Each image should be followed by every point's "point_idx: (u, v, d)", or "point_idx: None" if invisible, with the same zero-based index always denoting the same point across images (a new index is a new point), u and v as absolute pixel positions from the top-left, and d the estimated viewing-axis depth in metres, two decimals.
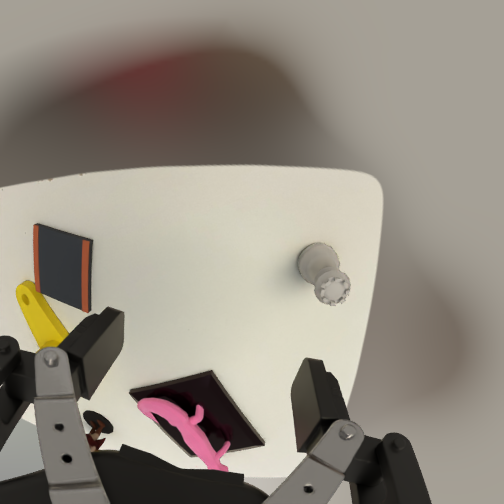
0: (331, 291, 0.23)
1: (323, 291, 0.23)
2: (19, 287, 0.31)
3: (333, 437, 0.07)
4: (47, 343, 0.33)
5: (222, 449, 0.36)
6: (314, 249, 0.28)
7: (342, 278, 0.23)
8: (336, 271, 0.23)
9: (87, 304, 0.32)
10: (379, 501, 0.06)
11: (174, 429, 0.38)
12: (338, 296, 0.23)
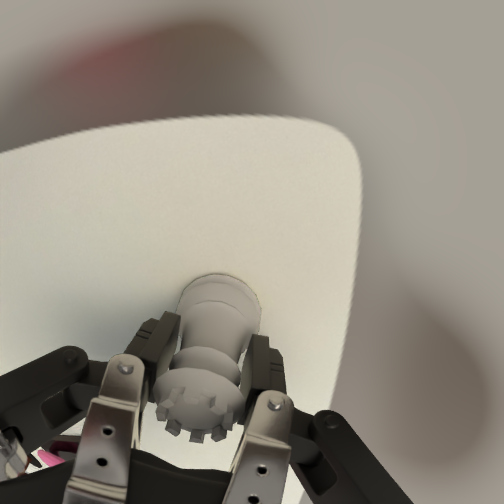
0: (186, 415, 0.08)
1: (161, 416, 0.08)
2: None
3: (263, 411, 0.08)
4: None
5: None
6: (198, 290, 0.13)
7: (211, 392, 0.08)
8: (196, 372, 0.08)
9: None
10: (330, 478, 0.07)
11: None
12: (207, 426, 0.08)
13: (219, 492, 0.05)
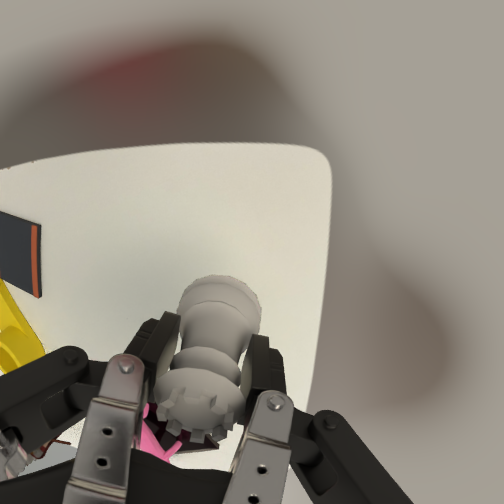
0: (187, 415, 0.08)
1: (162, 416, 0.08)
2: None
3: (263, 411, 0.08)
4: (6, 328, 0.30)
5: (171, 449, 0.33)
6: (198, 290, 0.13)
7: (212, 392, 0.08)
8: (197, 372, 0.08)
9: (37, 289, 0.29)
10: (330, 478, 0.07)
11: None
12: (208, 426, 0.08)
13: (219, 492, 0.05)
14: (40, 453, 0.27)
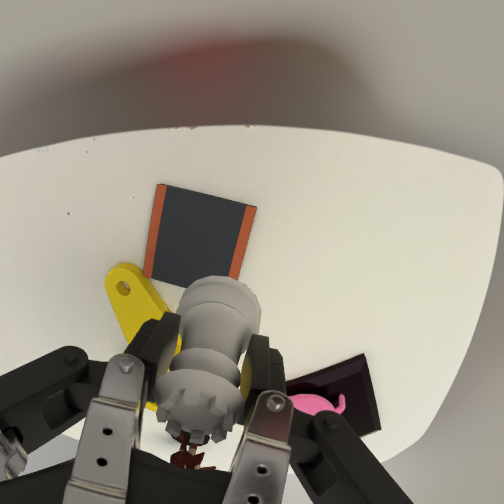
0: (187, 416, 0.08)
1: (161, 417, 0.08)
2: (114, 272, 0.28)
3: (263, 411, 0.08)
4: None
5: None
6: (198, 291, 0.13)
7: (211, 393, 0.08)
8: (196, 373, 0.08)
9: None
10: (330, 478, 0.07)
11: None
12: (207, 427, 0.08)
13: (219, 492, 0.05)
14: None
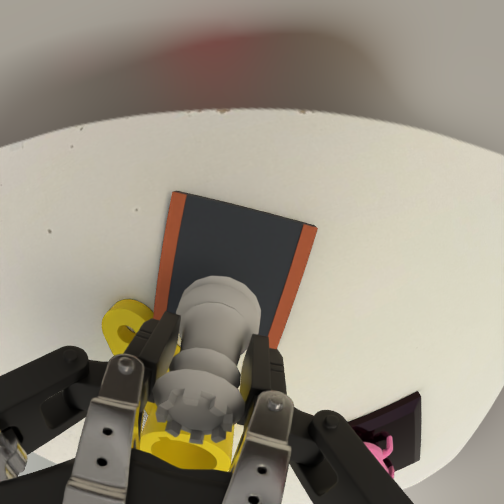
0: (186, 417, 0.08)
1: (161, 417, 0.08)
2: (114, 313, 0.20)
3: (263, 411, 0.08)
4: None
5: (392, 476, 0.25)
6: (198, 291, 0.13)
7: (211, 394, 0.08)
8: (196, 373, 0.08)
9: (279, 336, 0.21)
10: (330, 479, 0.07)
11: None
12: (207, 427, 0.08)
13: (219, 492, 0.05)
14: None
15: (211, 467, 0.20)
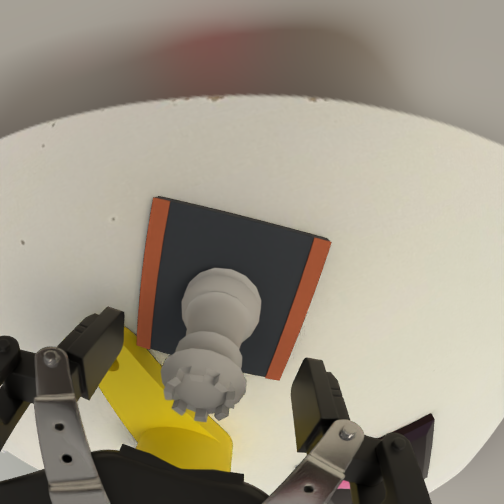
0: (192, 394, 0.09)
1: (168, 395, 0.09)
2: None
3: (333, 437, 0.07)
4: (161, 434, 0.18)
5: None
6: (202, 282, 0.14)
7: (215, 371, 0.09)
8: (202, 352, 0.09)
9: (283, 366, 0.18)
10: (379, 501, 0.06)
11: (344, 492, 0.23)
12: (211, 405, 0.09)
13: (259, 500, 0.05)
14: None
15: None
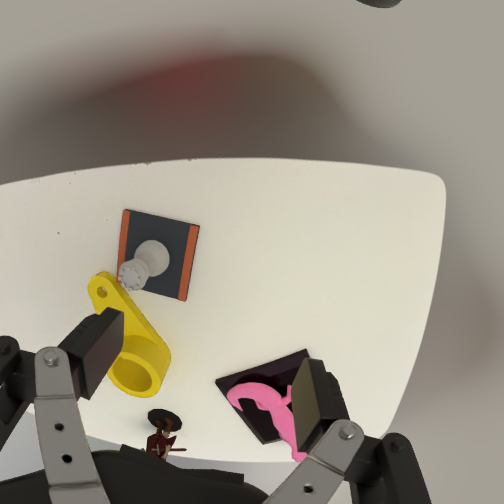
0: (127, 278, 0.27)
1: (119, 277, 0.27)
2: (94, 279, 0.35)
3: (333, 437, 0.07)
4: (126, 338, 0.36)
5: None
6: (142, 245, 0.32)
7: (134, 267, 0.27)
8: (131, 262, 0.27)
9: (185, 292, 0.36)
10: (379, 501, 0.06)
11: (257, 415, 0.41)
12: (133, 283, 0.27)
13: (259, 500, 0.05)
14: None
15: (150, 386, 0.35)
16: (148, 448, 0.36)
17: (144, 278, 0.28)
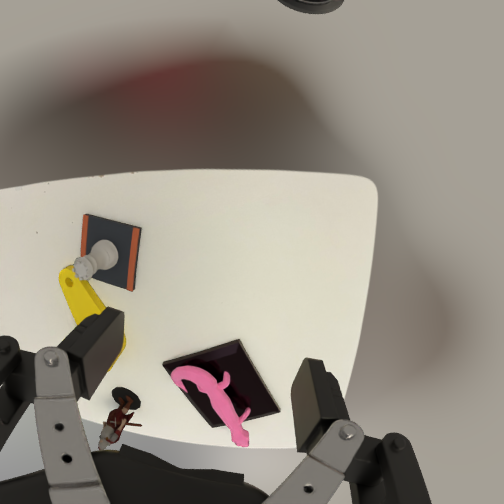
0: (79, 270, 0.32)
1: (73, 270, 0.32)
2: (63, 271, 0.39)
3: (333, 437, 0.07)
4: None
5: (244, 414, 0.44)
6: (96, 244, 0.37)
7: (83, 262, 0.32)
8: (81, 257, 0.32)
9: (132, 284, 0.41)
10: (379, 501, 0.06)
11: (201, 397, 0.46)
12: (83, 274, 0.32)
13: (259, 500, 0.05)
14: (116, 437, 0.38)
15: None
16: (108, 421, 0.41)
17: (91, 270, 0.32)
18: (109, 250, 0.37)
